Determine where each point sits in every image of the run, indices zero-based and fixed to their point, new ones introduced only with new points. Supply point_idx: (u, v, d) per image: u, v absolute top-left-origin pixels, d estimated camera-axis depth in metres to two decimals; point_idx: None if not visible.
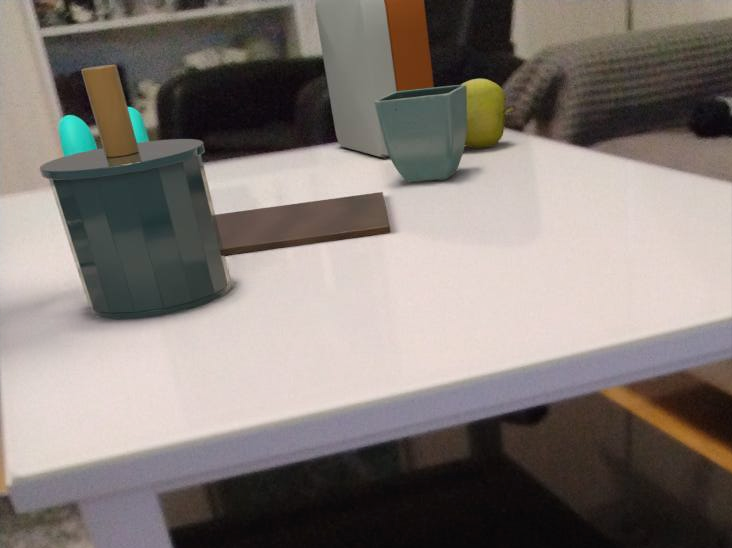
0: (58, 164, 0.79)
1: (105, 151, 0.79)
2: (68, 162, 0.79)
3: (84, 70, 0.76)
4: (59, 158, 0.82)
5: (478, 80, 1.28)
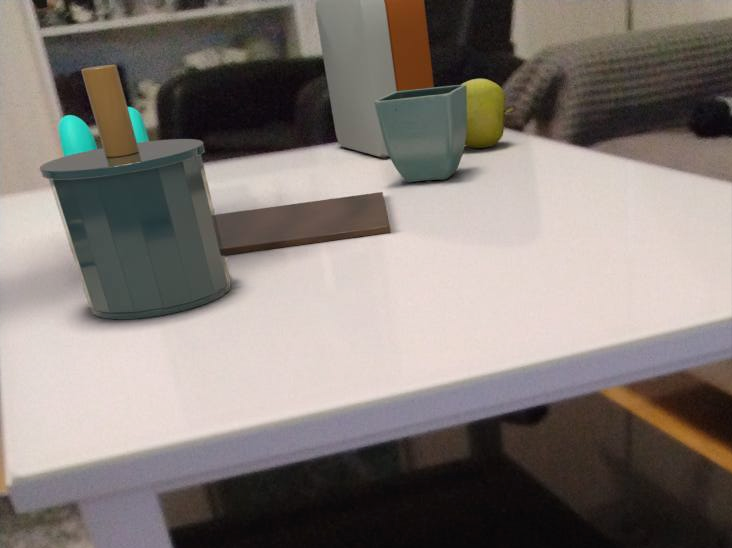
0: (58, 164, 0.79)
1: (105, 151, 0.79)
2: (68, 162, 0.79)
3: (84, 70, 0.76)
4: (59, 158, 0.82)
5: (478, 80, 1.28)
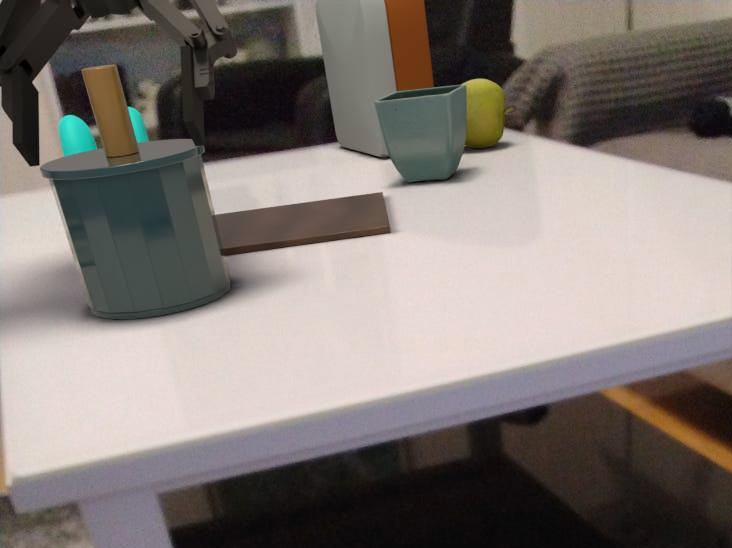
0: (58, 164, 0.79)
1: (105, 151, 0.79)
2: (68, 162, 0.79)
3: (84, 70, 0.76)
4: (59, 158, 0.82)
5: (478, 80, 1.28)
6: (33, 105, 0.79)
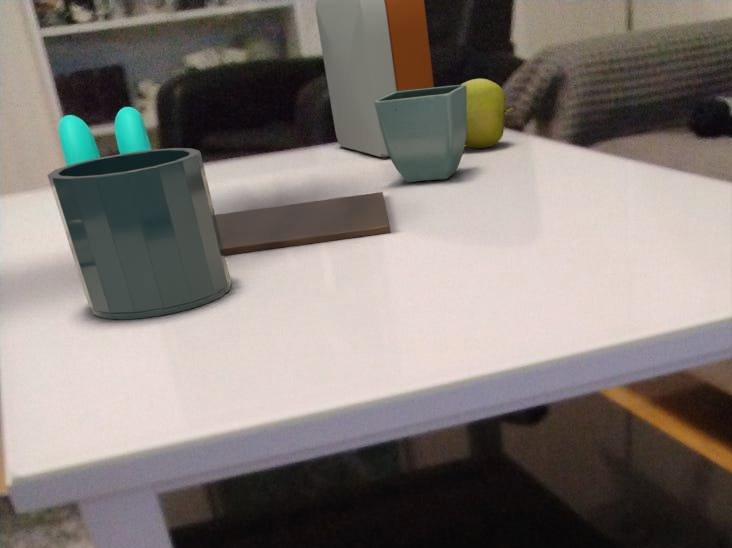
0: None
1: None
2: None
3: None
4: None
5: (478, 80, 1.28)
6: None
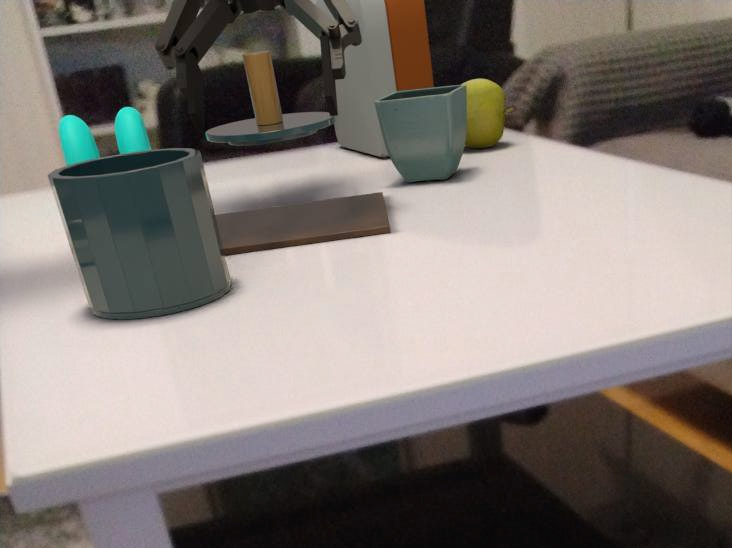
0: (220, 131, 0.98)
1: (257, 120, 0.98)
2: (227, 129, 0.98)
3: (246, 55, 0.95)
4: (216, 127, 1.01)
5: (478, 80, 1.28)
6: (200, 84, 0.98)
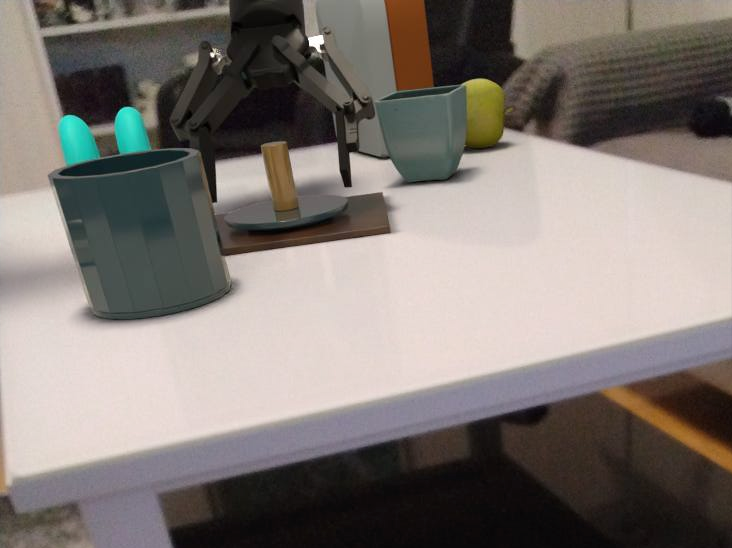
0: (239, 216, 1.02)
1: (274, 206, 1.03)
2: (246, 215, 1.03)
3: (264, 146, 0.99)
4: (234, 210, 1.05)
5: (478, 80, 1.28)
6: (212, 156, 1.02)
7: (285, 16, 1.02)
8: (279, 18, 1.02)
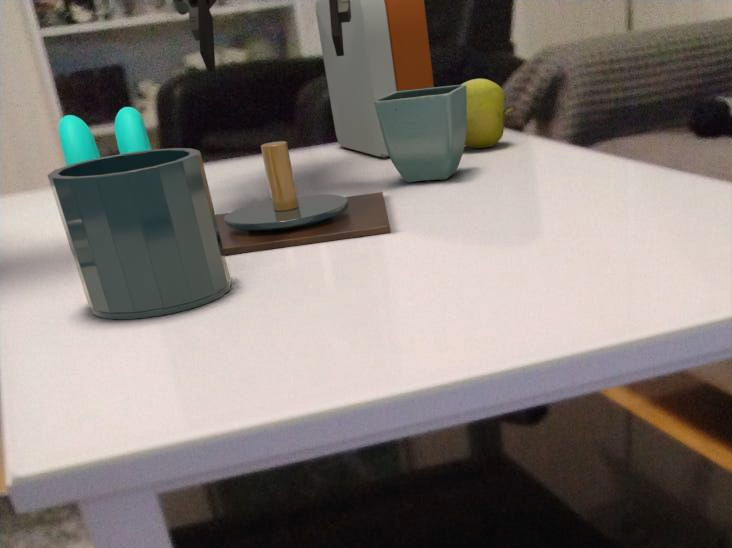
0: (239, 216, 1.02)
1: (274, 206, 1.03)
2: (246, 215, 1.03)
3: (264, 146, 0.99)
4: (234, 210, 1.05)
5: (478, 80, 1.28)
6: (211, 27, 1.07)
7: None
8: None
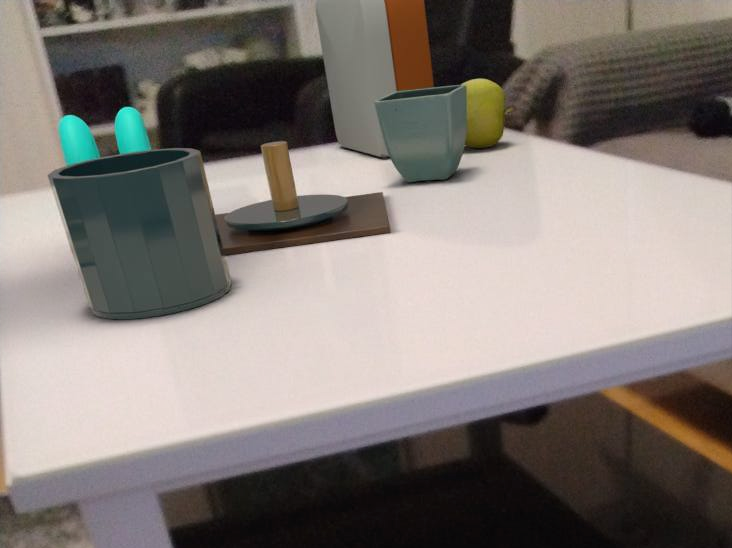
0: (239, 216, 1.02)
1: (274, 206, 1.03)
2: (246, 215, 1.03)
3: (264, 146, 0.99)
4: (234, 210, 1.05)
5: (478, 80, 1.28)
6: None
7: None
8: None
